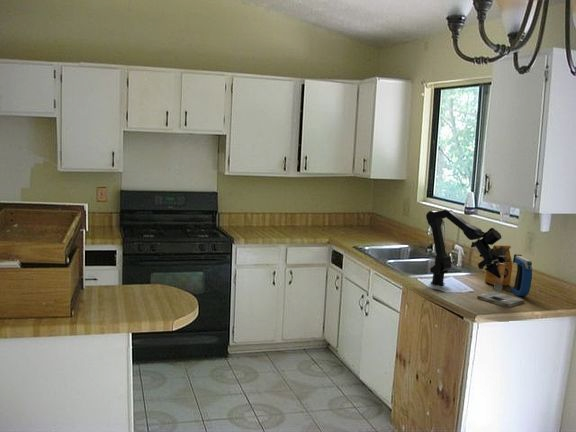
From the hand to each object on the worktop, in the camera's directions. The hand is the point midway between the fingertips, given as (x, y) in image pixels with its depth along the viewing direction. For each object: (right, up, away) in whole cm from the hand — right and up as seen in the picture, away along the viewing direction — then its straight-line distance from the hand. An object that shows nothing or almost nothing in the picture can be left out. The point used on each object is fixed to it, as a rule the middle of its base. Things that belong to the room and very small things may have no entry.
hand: (502, 277), depth 284 cm
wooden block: (-2, -6, +2) cm, 7 cm away
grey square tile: (+1, -12, +6) cm, 13 cm away
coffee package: (+11, -8, +39) cm, 42 cm away
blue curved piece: (+16, -11, +21) cm, 28 cm away
